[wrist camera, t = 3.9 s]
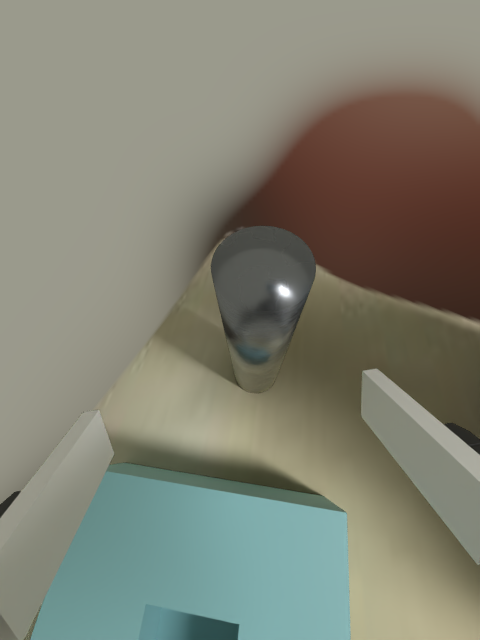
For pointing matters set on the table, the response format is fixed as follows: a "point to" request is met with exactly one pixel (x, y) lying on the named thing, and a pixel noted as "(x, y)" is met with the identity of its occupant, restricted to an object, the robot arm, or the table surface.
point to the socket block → (200, 563)
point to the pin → (261, 298)
